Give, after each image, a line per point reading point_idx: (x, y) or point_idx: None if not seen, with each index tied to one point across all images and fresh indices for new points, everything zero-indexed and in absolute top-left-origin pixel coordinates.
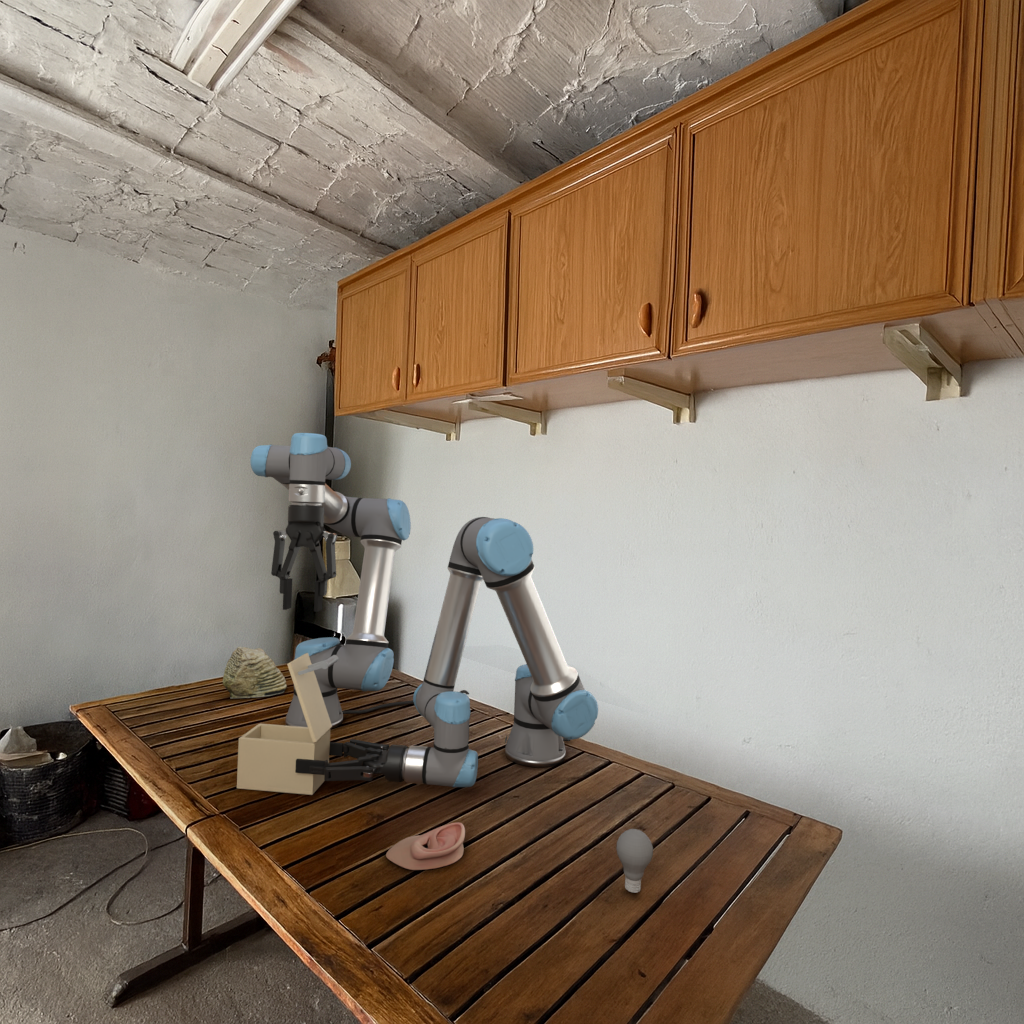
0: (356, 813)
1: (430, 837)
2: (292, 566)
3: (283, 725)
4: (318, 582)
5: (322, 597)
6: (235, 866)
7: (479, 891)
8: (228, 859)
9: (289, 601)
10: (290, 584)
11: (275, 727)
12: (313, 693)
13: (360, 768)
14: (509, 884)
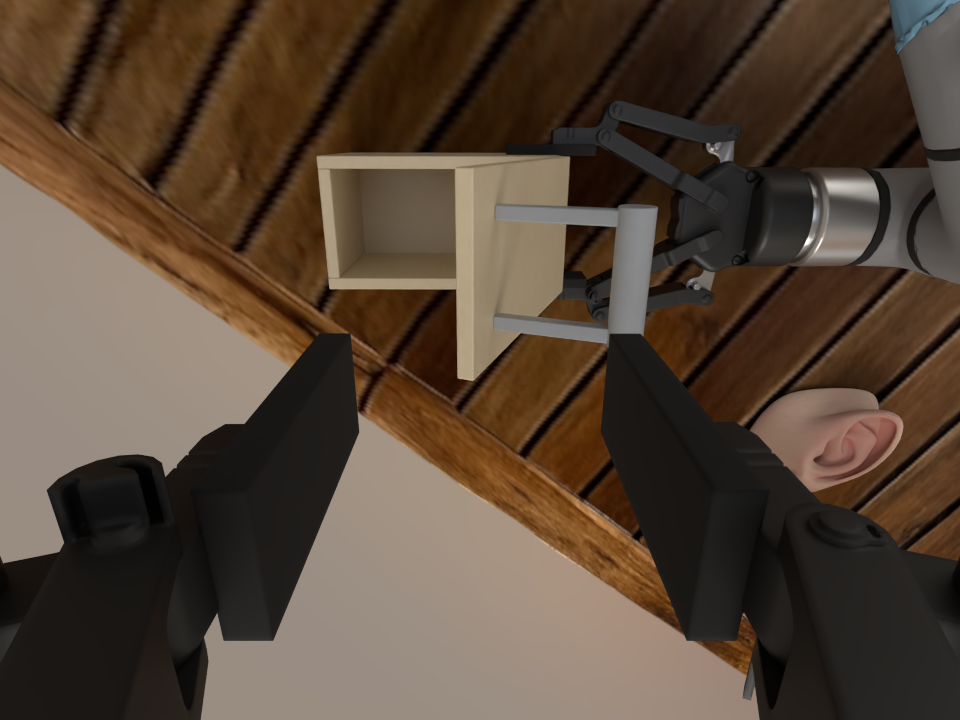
0: (658, 321)
1: (829, 440)
2: (135, 686)
3: (402, 159)
4: (730, 630)
5: (675, 378)
6: (506, 503)
7: (888, 508)
8: (486, 489)
9: (339, 402)
10: (284, 494)
11: (380, 168)
12: (530, 231)
13: (682, 302)
14: (938, 488)
